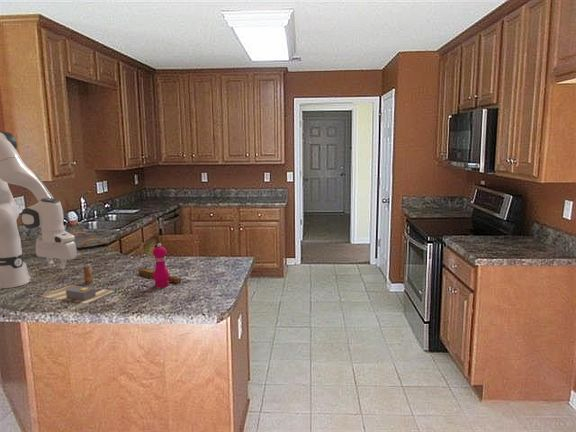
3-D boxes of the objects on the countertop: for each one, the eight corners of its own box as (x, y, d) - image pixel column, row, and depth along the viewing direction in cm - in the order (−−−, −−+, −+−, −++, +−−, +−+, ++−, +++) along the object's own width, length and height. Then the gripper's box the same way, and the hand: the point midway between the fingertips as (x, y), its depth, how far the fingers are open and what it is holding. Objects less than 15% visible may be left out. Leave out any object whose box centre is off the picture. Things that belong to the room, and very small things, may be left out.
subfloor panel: (40, 299, 190) (40, 296, 190) (71, 287, 205) (70, 285, 204) (86, 306, 180) (86, 303, 180) (115, 293, 195) (114, 290, 195)
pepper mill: (156, 283, 209) (153, 241, 205) (171, 282, 208) (169, 241, 205) (151, 288, 202) (148, 245, 198) (167, 287, 201) (164, 245, 198)
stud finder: (66, 298, 187) (65, 289, 186) (78, 293, 192) (77, 285, 192) (84, 300, 183) (83, 291, 183) (95, 296, 189) (94, 287, 188)
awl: (83, 286, 206) (80, 259, 204) (89, 284, 209) (86, 257, 207) (89, 287, 205) (86, 260, 203) (94, 284, 208) (92, 258, 206)
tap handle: (176, 278, 206) (136, 268, 223) (176, 285, 206) (137, 274, 224) (181, 277, 208) (141, 267, 226) (181, 283, 209) (142, 273, 226)
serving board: (59, 242, 303) (58, 233, 302) (94, 237, 317) (93, 228, 316) (75, 252, 274) (74, 242, 273) (113, 246, 288) (112, 237, 287)
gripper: (29, 236, 189) (33, 267, 191) (65, 239, 181) (68, 271, 184) (42, 233, 195) (46, 263, 197) (77, 236, 187) (81, 267, 189)
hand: (57, 267), depth 190 cm, fingers open, 4 cm apart
